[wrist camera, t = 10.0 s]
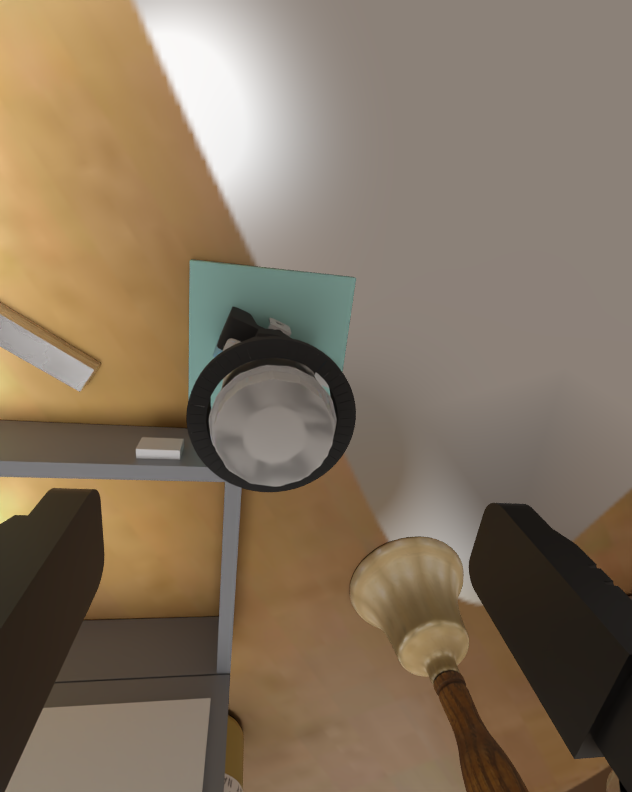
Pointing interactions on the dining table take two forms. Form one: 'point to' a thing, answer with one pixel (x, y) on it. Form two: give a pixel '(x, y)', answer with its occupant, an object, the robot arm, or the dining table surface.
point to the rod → (45, 350)
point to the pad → (267, 307)
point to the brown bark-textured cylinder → (234, 757)
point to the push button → (269, 408)
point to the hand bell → (432, 642)
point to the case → (130, 640)
